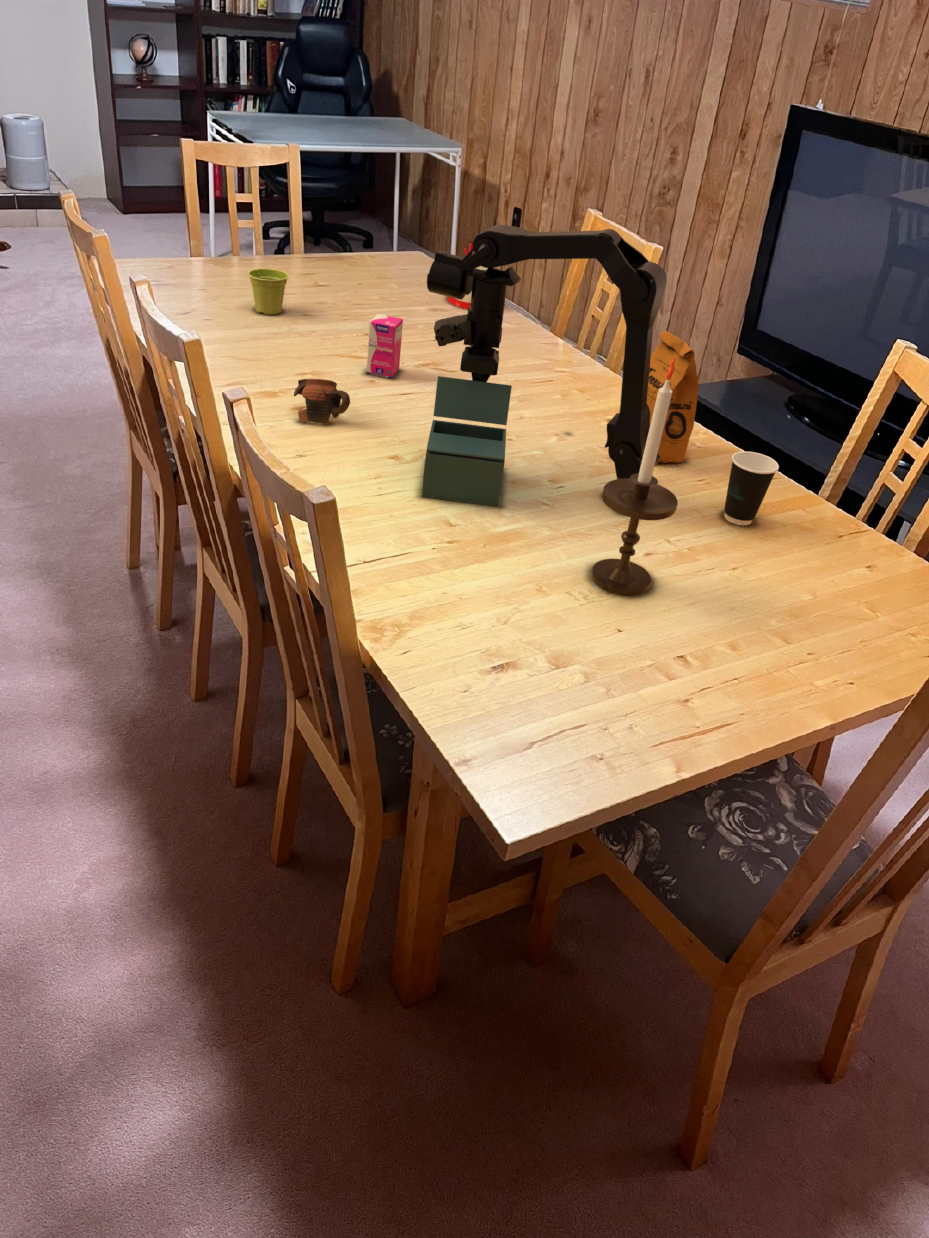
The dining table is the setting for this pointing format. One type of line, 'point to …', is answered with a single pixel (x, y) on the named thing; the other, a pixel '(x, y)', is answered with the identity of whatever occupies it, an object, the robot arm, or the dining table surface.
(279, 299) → the plant pot
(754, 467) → the dixie cup
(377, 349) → the supplement box
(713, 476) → the dining table surface
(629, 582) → the candlestick
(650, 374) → the coffee package
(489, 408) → the flap
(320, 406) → the pottery mug
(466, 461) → the carton
